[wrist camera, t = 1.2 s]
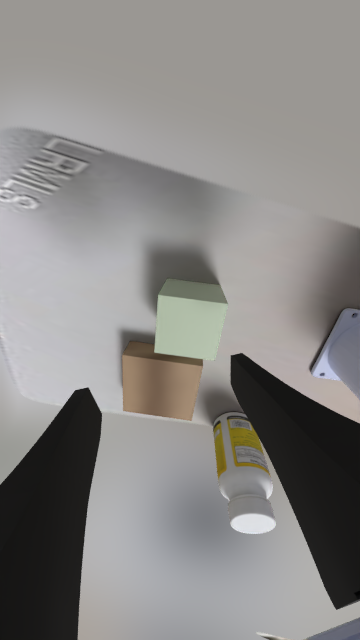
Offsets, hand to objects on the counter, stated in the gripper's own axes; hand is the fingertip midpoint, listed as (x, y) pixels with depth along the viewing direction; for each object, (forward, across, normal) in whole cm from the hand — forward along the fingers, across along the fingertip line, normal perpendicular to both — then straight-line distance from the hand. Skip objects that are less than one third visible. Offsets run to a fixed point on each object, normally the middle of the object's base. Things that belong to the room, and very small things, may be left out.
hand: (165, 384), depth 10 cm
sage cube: (+10, -4, +1) cm, 11 cm away
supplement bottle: (+8, -7, +18) cm, 21 cm away
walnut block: (+11, 0, +9) cm, 14 cm away
